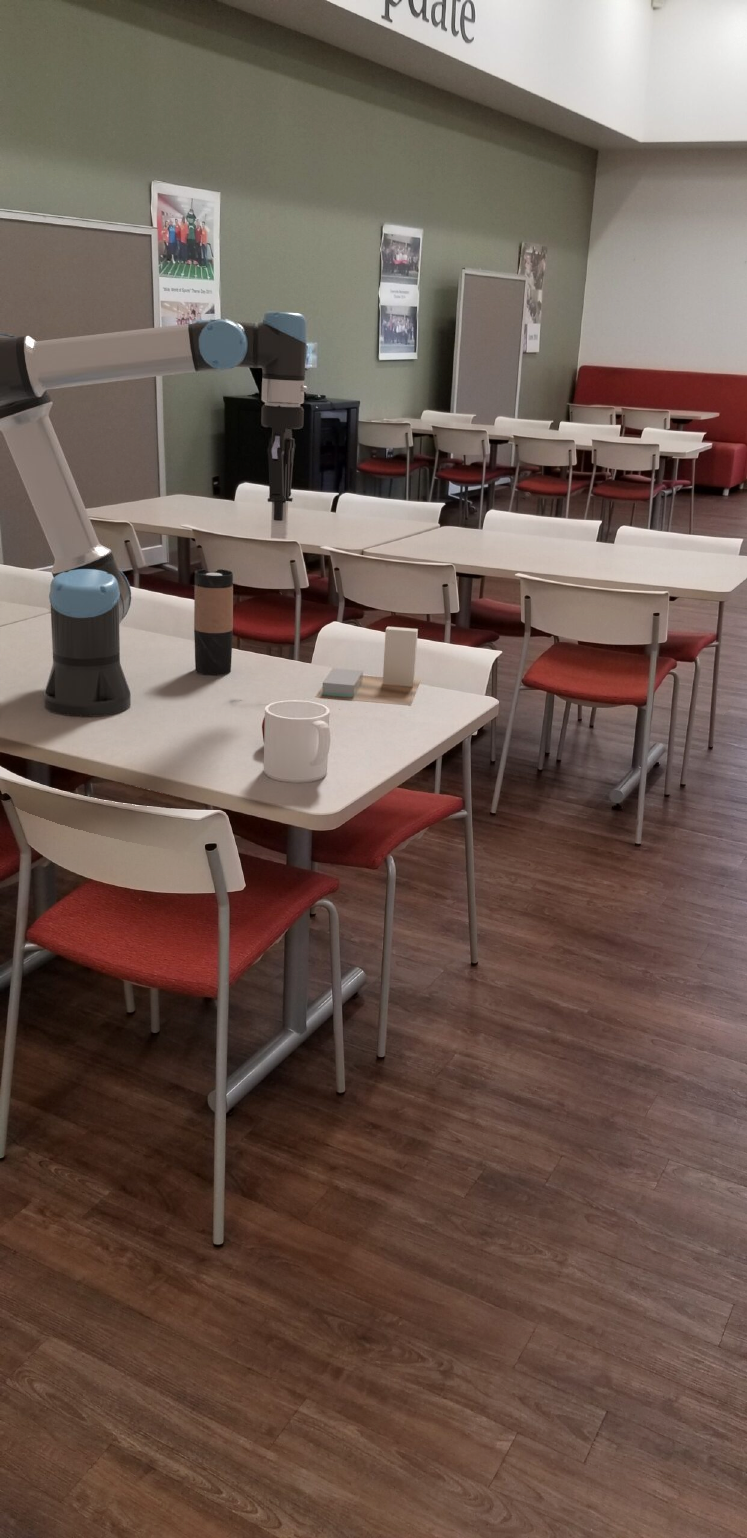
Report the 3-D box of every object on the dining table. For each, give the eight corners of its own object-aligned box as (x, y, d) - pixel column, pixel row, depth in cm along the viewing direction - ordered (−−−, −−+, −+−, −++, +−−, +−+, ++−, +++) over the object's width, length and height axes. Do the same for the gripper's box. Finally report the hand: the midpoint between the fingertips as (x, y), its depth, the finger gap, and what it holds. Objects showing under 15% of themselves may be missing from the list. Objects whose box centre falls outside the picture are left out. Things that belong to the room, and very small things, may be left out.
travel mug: (216, 677, 236) (216, 577, 230) (186, 670, 240) (186, 571, 233) (239, 670, 243) (241, 572, 236) (210, 663, 246) (210, 567, 240)
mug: (251, 768, 188) (252, 706, 185) (302, 757, 194) (304, 696, 191) (297, 792, 179) (300, 727, 176) (350, 780, 185) (353, 717, 182)
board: (410, 711, 222) (410, 705, 221) (315, 702, 224) (315, 696, 223) (420, 686, 238) (420, 680, 238) (331, 678, 240) (331, 672, 240)
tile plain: (412, 686, 233) (416, 631, 230) (382, 684, 234) (385, 629, 230) (414, 683, 235) (417, 628, 232) (384, 680, 236) (387, 626, 232)
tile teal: (362, 682, 234) (353, 697, 224) (332, 679, 235) (322, 694, 225) (362, 670, 233) (354, 685, 223) (332, 667, 234) (322, 682, 224)
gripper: (296, 407, 206) (291, 544, 214) (310, 404, 218) (305, 534, 226) (253, 404, 207) (251, 541, 215) (270, 401, 219) (266, 531, 227)
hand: (279, 537), depth 221 cm, fingers closed
